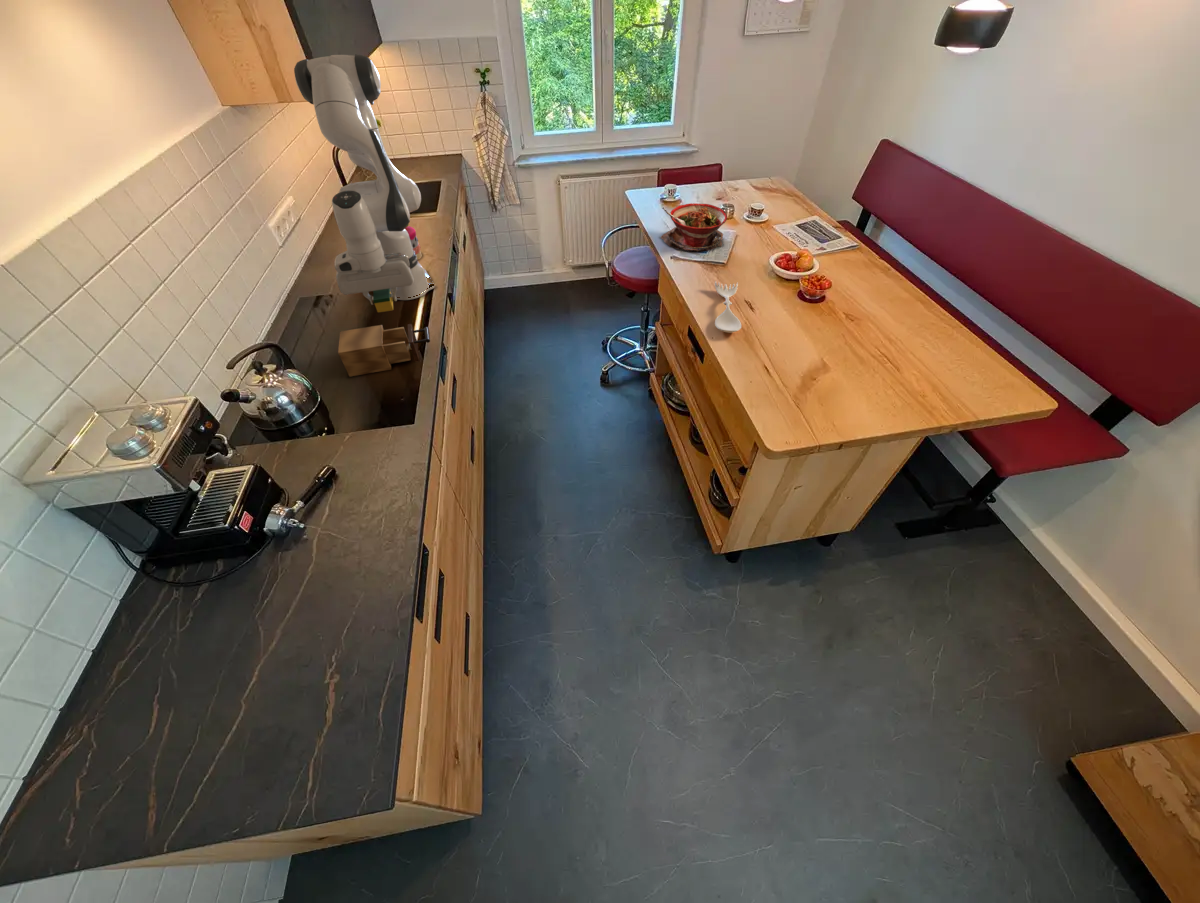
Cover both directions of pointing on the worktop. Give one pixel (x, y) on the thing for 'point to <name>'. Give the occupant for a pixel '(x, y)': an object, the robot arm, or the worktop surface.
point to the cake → (414, 241)
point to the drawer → (402, 343)
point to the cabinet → (363, 350)
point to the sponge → (382, 300)
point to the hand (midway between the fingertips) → (384, 302)
